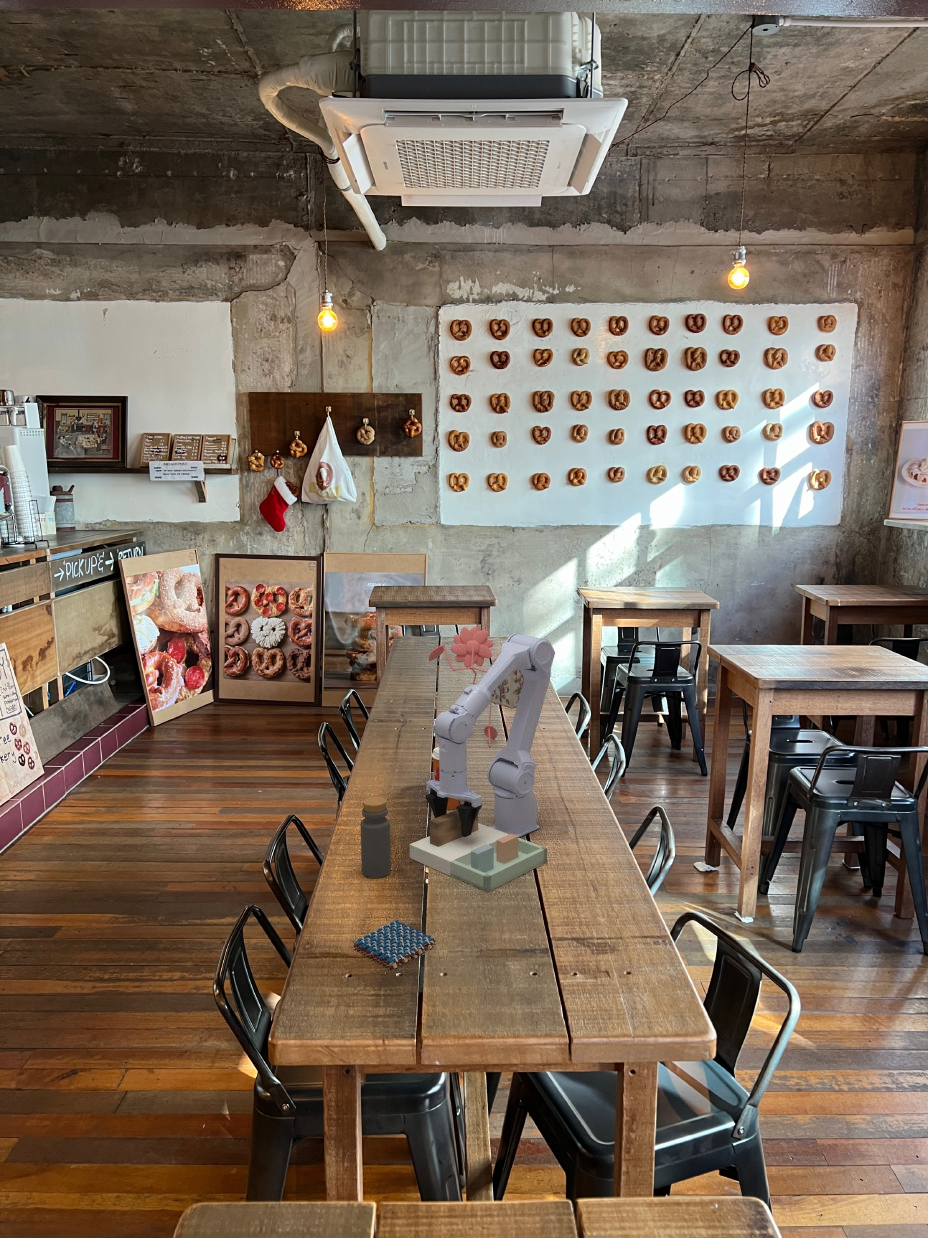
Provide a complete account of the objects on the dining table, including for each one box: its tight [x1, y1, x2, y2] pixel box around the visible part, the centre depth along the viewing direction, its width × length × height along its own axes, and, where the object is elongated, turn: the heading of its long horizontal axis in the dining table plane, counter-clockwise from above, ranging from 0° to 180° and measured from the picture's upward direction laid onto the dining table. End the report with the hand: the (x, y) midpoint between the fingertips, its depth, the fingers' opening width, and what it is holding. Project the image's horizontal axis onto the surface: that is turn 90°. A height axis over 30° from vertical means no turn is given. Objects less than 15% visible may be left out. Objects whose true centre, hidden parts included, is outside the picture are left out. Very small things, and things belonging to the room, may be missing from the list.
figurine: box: [428, 626, 498, 748], centre depth 259 cm, size 15×26×35 cm, turn 94°
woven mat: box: [353, 919, 436, 970], centre depth 147 cm, size 10×11×2 cm
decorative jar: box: [489, 659, 524, 709], centre depth 304 cm, size 12×12×18 cm
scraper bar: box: [429, 809, 479, 847], centre depth 184 cm, size 12×2×5 cm, turn 136°
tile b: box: [471, 844, 494, 873], centre depth 173 cm, size 4×4×2 cm
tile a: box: [496, 834, 518, 864], centre depth 178 cm, size 4×4×2 cm
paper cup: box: [431, 746, 461, 811], centre depth 209 cm, size 8×8×14 cm
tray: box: [449, 837, 548, 893], centre depth 175 cm, size 18×10×3 cm, turn 136°
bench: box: [409, 822, 509, 876], centre depth 183 cm, size 18×12×3 cm, turn 136°
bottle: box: [360, 796, 392, 879], centre depth 173 cm, size 6×6×15 cm
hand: (453, 830), depth 184 cm, fingers open, 7 cm apart
